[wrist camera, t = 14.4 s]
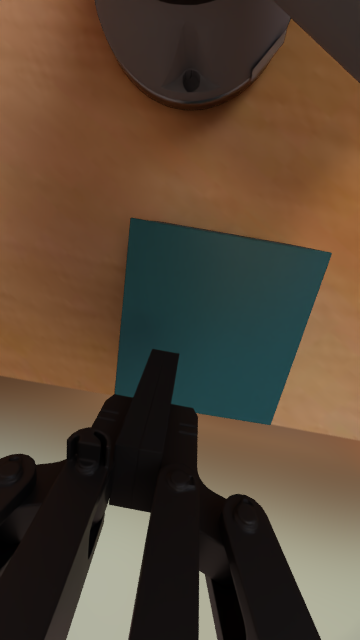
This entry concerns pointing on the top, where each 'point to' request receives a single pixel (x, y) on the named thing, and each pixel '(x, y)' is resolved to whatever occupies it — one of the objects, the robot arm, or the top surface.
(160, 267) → the teal box lid
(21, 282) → the top surface
